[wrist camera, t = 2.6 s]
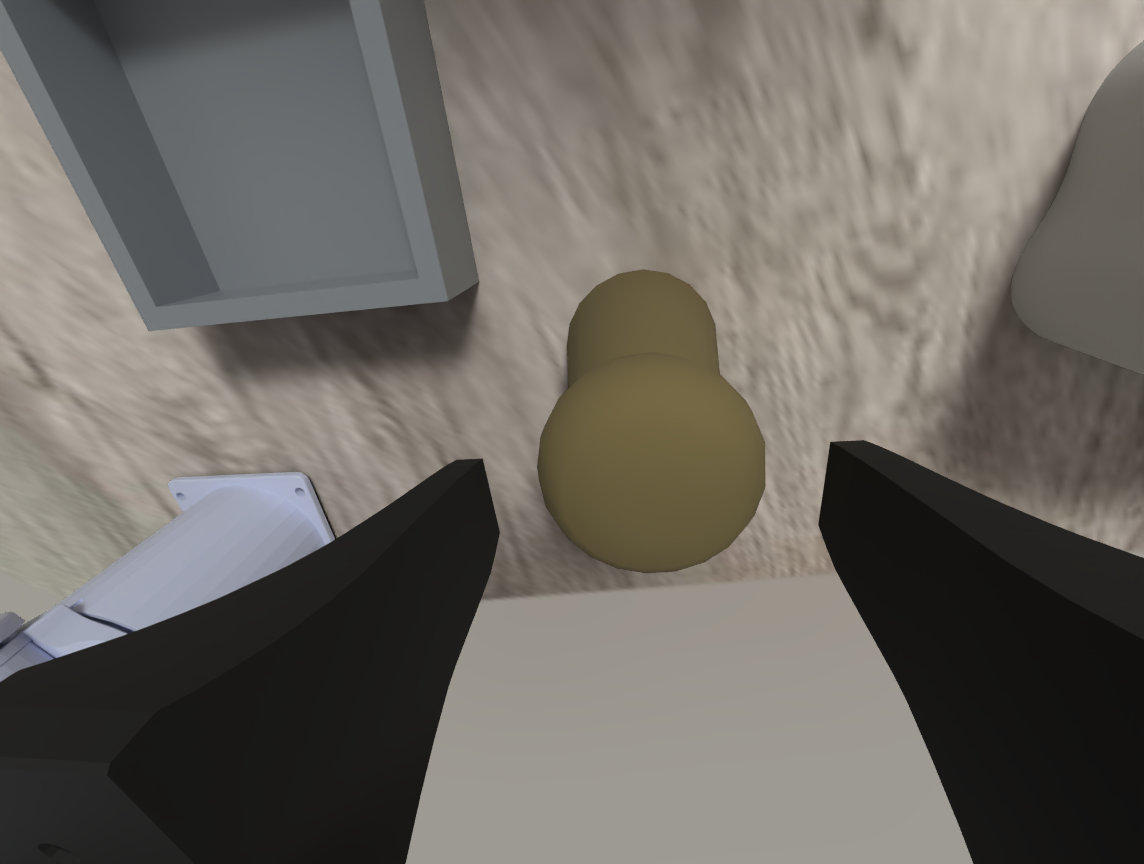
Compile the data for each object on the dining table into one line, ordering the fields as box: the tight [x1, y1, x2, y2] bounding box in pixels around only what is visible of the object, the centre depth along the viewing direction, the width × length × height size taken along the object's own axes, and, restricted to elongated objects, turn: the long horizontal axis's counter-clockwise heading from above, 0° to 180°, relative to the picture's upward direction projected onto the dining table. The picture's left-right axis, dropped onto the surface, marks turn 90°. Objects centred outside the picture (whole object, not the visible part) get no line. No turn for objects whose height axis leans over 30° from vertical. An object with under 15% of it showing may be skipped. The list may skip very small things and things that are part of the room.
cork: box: [537, 270, 765, 573], centre depth 14 cm, size 6×6×11 cm
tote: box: [0, 0, 479, 331], centre depth 15 cm, size 12×12×4 cm
